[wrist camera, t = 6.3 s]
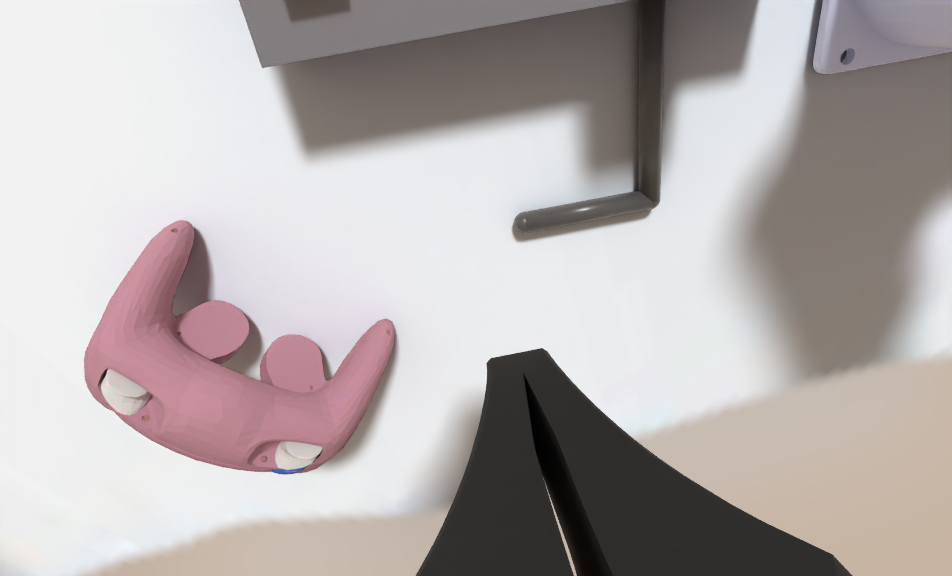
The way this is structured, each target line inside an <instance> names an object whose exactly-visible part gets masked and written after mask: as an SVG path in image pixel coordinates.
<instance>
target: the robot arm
mask: <svg viewBox="0 0 952 576" xmlns="http://www.w3.org/2000/svg"><path fill="white" fill-rule="evenodd" d="M845 50H846V53H847V55H846V57H845V59H844V60H843V61H842V62H841V61H840V57H841V55H842V53H843V52H844V51H845ZM947 52H952V0H823V3H822V9H821V15H820V22H819V28H818V34H817V40H816V46H815V52H814V59H813V67H814V69H815V71H816V72H818V73H821V74H834V73H840V72H845V71H850V70H856V69H861V68H867V67H872V66H877V65H883V64H888V63H893V62H899V61H904V60H910V59H915V58H920V57H926V56H931V55H937V54H942V53H947ZM543 478H544V479H543ZM544 481H545V482H544ZM545 484H546V485H545ZM546 486H547V489H548V492H549V495H550V498H551V500H552V503H553V506H554V509H555V511H556V514H557V517H558V520H559V523H560V525H561V528H562V531H563V534H564V536H565V539H566V542H567V545H568V548H569V551H570V554H571V557H572V560H573V564H574V567H575V570H576V574H577V576H852V575H851V574H850V573H849V572H848V571H847V570H846V569H845V568H844V566H843V565H842V564H841V563H840V562H839V561H838V560H837V559H836V558H835V557H834V556H833V555H832V554H830V553H828V552H825V551H824V550H822V549H819V548H817V547H815V546H813V545H811V544H809V543H807V542H805V541H803V540H800V539H798V538H796V537H794V536H792V535H790V534H788V533H786V532H784V531H781V530H779V529H777V528H775V527H773V526H771V525H769V524H767V523H765V522H763V521H761V520H759V519H757V518H755V517H753V516H752V515H750V514H748V513H746V512H744V511H742V510H741V509H739V508H737V507H735V506H733V505H731V504H730V503H728V502H726V501H725V500H723V499H721V498H720V497H718V496H717V495H715V494H713V493H712V492H710V491H708V490H707V489H705V488H703V487H702V486H700V485H699V484H697V483H695V482H694V481H692V480H690V479H689V478H687V477H686V476H684V475H682V474H681V473H680V472H678V471H677V470H675V469H674V468H672V467H671V466H669V465H668V464H666V463H665V462H664V461H662V460H661V459H659V458H658V457H657V456H655V455H654V454H653V453H651V452H650V451H649V450H647V449H646V448H644V447H643V446H642V445H641V444H639V443H638V442H637V441H636V440H634V439H633V438H632V437H631V436H629V435H628V434H627V433H626V432H625V431H623V430H622V429H621V428H620V427H619V426H618V425H616V424H615V423H614V422H613V421H612V420H611V419H610V418H608V417H607V416H606V415H605V414H604V413H603V412H602V411H601V410H600V409H599V408H598V407H596V406H595V405H594V404H593V403H592V402H591V401H590V400H589V399H588V398H587V397H586V396H585V395H584V394H583V393H582V392H581V391H580V390H579V389H578V388H577V386H576V385H575V384H574V383H573V382H572V381H571V380H570V379H569V378H568V377H567V376H566V374H565V373H564V372H563V371H562V370H561V369H560V367H559V366H558V365H557V364H556V363H555V361H554V360H553V359H552V357H551V356H550V355H549V353H548V352H547V351H546V350H544V349H543V348H541V349H536V350H531V351H526V352H521V353H516V354H510V355H505V356H500V357H495V358H491V359H490V360H489V361H488V362H487V384H486V392H485V399H484V404H483V409H482V414H481V419H480V423H479V427H478V431H477V435H476V438H475V442H474V445H473V449H472V452H471V455H470V459H469V462H468V465H467V467H466V470H465V473H464V476H463V479H462V481H461V484H460V486H459V489H458V491H457V494H456V496H455V499H454V501H453V503H452V506H451V508H450V510H449V512H448V514H447V517H446V519H445V521H444V523H443V526H442V528H441V530H440V532H439V534H438V536H437V538H436V540H435V542H434V544H433V546H432V547H431V549H430V551H429V553H428V555H427V557H426V558H425V560H424V562H423V564H422V566H421V567H420V569H419V571H418V573H417V575H416V576H574V575H573V572H572V569H571V566H570V563H569V560H568V556H567V553H566V550H565V547H564V544H563V541H562V537H561V534H560V531H559V528H558V525H557V522H556V518H555V515H554V512H553V508H552V505H551V502H550V499H549V495H548V492H547V489H546Z"/></svg>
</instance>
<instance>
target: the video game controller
mask: <svg viewBox="0 0 952 576" xmlns="http://www.w3.org/2000/svg"><path fill="white" fill-rule="evenodd" d="M193 241H194V228H193V226H192V224H190V223H189V222H187V221H184V220H180V221H176V222H174V223H172V224H170V225H169V226H167V227H165V228H164V229H163V230H162V231H160V232H159V233H158V234H157V235H156V236H155V237H154V238H153V239H152V240H151V241H150V242H149V243H148V245H147V246H146V248H145V249H144V251H143V252H142V253H141V255H140V256H139V258H138V259H137V261H136V262H135V263H134V265H133V266H132V268H131V269H130V271H129V272H128V273H127V275H126V276H125V278H124V279H123V281H122V282H121V283H120V285H119V286H118V288H117V290H116V291H115V293H114V295H113V296H112V298H111V299H110V301H109V303H108V305H107V307H106V310H105V312H104V314H103V316H102V319H101V321H100V323H99V324H98V326H97V328H96V330H95V332H94V334H93V336H92V338H91V340H90V343H89V345H88V347H87V349H86V352H85V358H84V369H85V381H86V384H87V387H88V389H89V390H90V392H91V394H92V395H93V397H94V398H95V399H96V400H97V401H98V402H99V403H101V404H102V405H103V406H104V407H105V408H107V409H110V410H112V411H114V412H115V413H116V414H117V415H118V416H119V417H120V418H121V419H122V420H123V421H124V422H125V423H127V424H128V425H129V426H131V427H132V428H133V429H135V430H136V431H138V432H139V433H141V434H142V435H144V436H145V437H147V438H148V439H150V440H152V441H154V442H156V443H158V444H160V445H162V446H164V447H166V448H168V449H170V450H172V451H174V452H177V453H179V454H182V455H184V456H187V457H190V458H192V459H195V460H198V461H202V462H206V463H209V464H213V465H217V466H221V467H226V468H232V469H237V470H245V471H255V472H274V473H278V474H294V473H303V472H308V471H311V470H314V469H316V468H318V467H319V466H321V465H322V464H324V463H325V462H327V461H328V460H329V459H331V458H332V457H333V456H334V455H336V454H337V453H338V452H339V451H340V450H342V448H343V447H344V446H345V444H346V443H347V441H348V440H349V438H350V437H351V435H352V434H353V432H354V431H355V429H356V428H357V426H358V424H359V422H360V421H361V419H362V417H363V415H364V413H365V411H366V409H367V407H368V405H369V403H370V401H371V399H372V397H373V394H374V392H375V390H376V388H377V386H378V383H379V381H380V379H381V376H382V374H383V372H384V370H385V367H386V365H387V363H388V360H389V358H390V355H391V352H392V349H393V344H394V338H395V331H394V325H393V323H392V321H390V320H389V319H383V320H380V321H378V322H377V323H376V324H375V325H373V326H372V327H371V328H370V329H369V330H367V332H366V333H365V334H364V335H363V336H362V337H361V338H360V339H359V341H358V342H357V343H356V345H355V346H354V347H353V349H352V350H351V351H350V353H349V354H348V355H347V356H346V358H345V359H344V360H343V362H342V363H341V365H340V367H339V368H338V370H337V372H336V373H335V375H334V377H333V378H331V379H330V380H327V379H325V377H324V372H323V364H322V355H321V352H320V349H319V348H318V346H317V345H316V344H315V343H314V342H313V341H312V340H310V339H309V338H306V337H304V336H301V335H285V336H282V337H279V338H278V339H276V340H275V341H274V342H273V343H272V344H271V346H270V347H269V348H268V350H267V351H266V353H265V354H264V356H263V358H262V360H261V364H260V377H261V381H262V382H261V381H259V380H256V379H253V378H250V377H248V376H245V375H243V374H240V373H238V372H235V371H233V370H230V369H228V368H226V367H224V366H221V365H219V364H222V363H224V362H225V361H227V360H229V359H230V358H231V357H233V356H234V355H235V354H236V353H237V351H238V350H239V348H240V347H241V346H242V345H243V343H244V342H245V340H246V339H247V336H248V333H249V323H248V320H247V318H246V316H245V315H244V314H243V313H242V311H241V310H239V309H238V308H237V307H235V306H234V305H232V304H230V303H227V302H224V301H208V302H205V303H203V304H201V305H198V306H197V307H195V308H193V309H191V310H190V311H188V312H186V313H183V314H181V315H179V316H174V315H173V312H172V310H173V303H174V297H175V292H176V290H177V287H178V285H179V282H180V280H181V277H182V275H183V273H184V270H185V268H186V265H187V262H188V259H189V256H190V252H191V249H192V246H193Z"/></svg>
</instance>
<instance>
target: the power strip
mask: <svg viewBox="0 0 952 576" xmlns="http://www.w3.org/2000/svg"><path fill="white" fill-rule="evenodd" d="M627 1H632V0H239V2H240V5H241V7H242V10H243V13H244V16H245V19H246V22H247V25H248V28H249V31H250V34H251V37H252V40H253V43H254V46H255V49H256V51H257V54H258V57H259V60H260V63H261V66H262V68H265V67H270V66H276V65H281V64H287V63H292V62H298V61H303V60H309V59H314V58H320V57H325V56H331V55H336V54H342V53H347V52H353V51H358V50H364V49H369V48H374V47H380V46H385V45H391V44H396V43H402V42H407V41H413V40H418V39H424V38H429V37H435V36H440V35H446V34H451V33H457V32H462V31H468V30H473V29H479V28H484V27H490V26H495V25H501V24H506V23H511V22H517V21H522V20H528V19H533V18H539V17H544V16H550V15H555V14H561V13H566V12H572V11H577V10H583V9H588V8H594V7H599V6H605V5H610V4H616V3H621V2H627ZM664 32H665V0H639V191H635V192H629V193H624V194H619V195H613V196H608V197H603V198H597V199H592V200H587V201H581V202H576V203H571V204H565V205H560V206H555V207H549V208H544V209H539V210H533V211H528V212H523V213H520V214H518V215H517V216H516V218H515V220H514V225H515V228H516V229H517V230H518V231H519V232H522V233H528V232H533V231H538V230H544V229H549V228H554V227H559V226H565V225H570V224H575V223H581V222H586V221H591V220H597V219H602V218H607V217H613V216H618V215H623V214H629V213H634V212H639V211H644V210H650V209H653V208H655V207H656V206H657V205H658V204H659V202H660V185H661V147H662V108H663V70H664Z"/></svg>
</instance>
